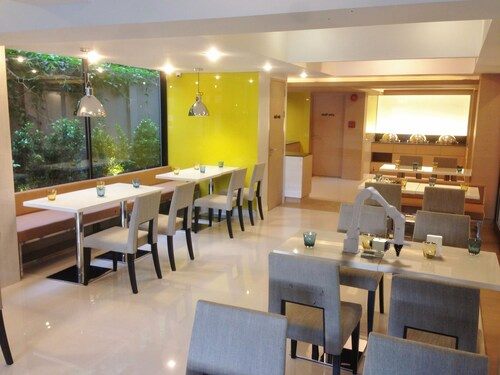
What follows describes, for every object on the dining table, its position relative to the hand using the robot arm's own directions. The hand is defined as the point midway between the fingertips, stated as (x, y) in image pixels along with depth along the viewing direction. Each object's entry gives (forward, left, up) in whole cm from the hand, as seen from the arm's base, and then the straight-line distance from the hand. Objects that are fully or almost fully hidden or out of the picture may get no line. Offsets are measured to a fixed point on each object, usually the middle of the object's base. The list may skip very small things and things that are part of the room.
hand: (397, 256), depth 276 cm
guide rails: (-18, 0, -2) cm, 18 cm away
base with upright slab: (+19, +22, -2) cm, 29 cm away
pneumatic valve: (-11, 0, -2) cm, 11 cm away
